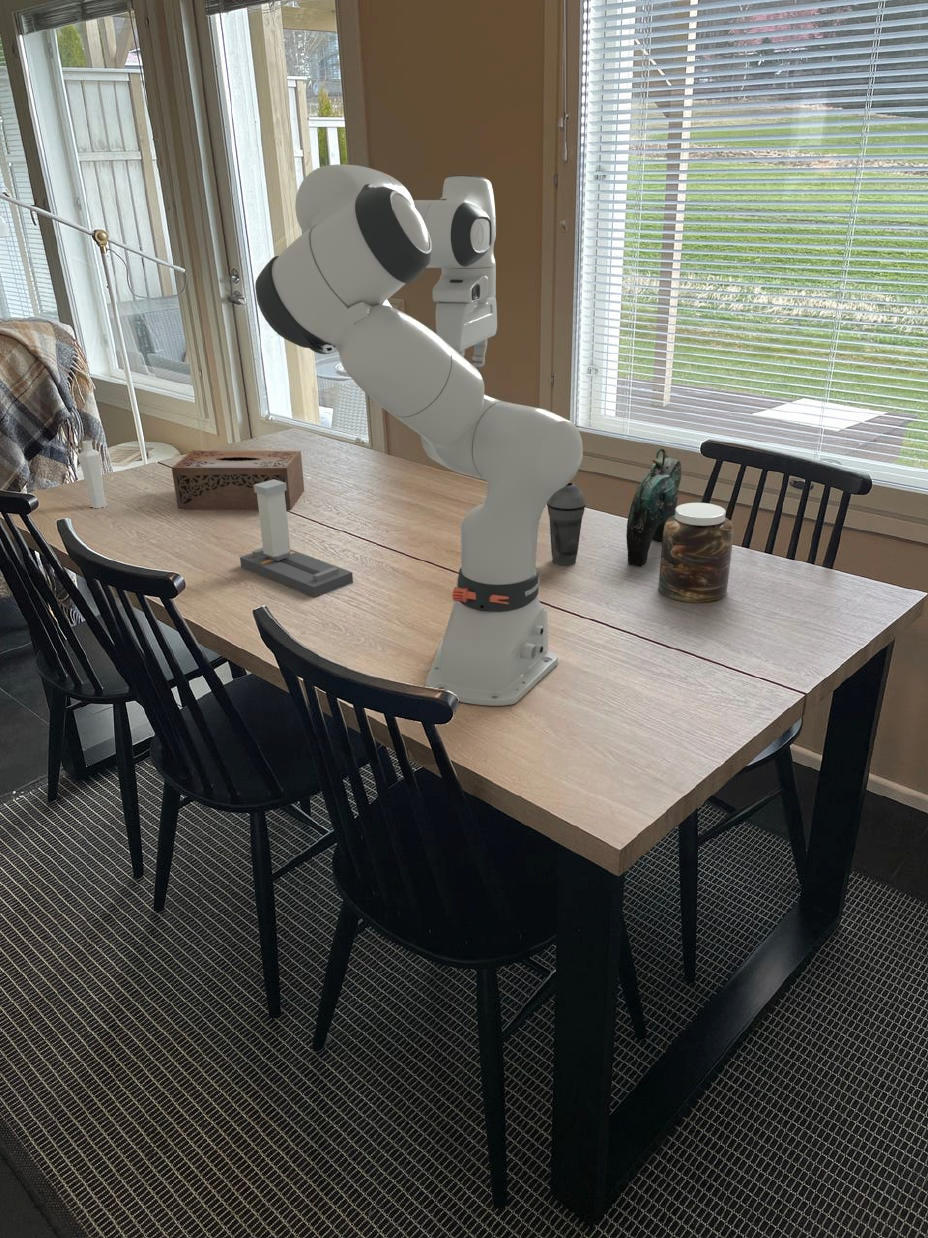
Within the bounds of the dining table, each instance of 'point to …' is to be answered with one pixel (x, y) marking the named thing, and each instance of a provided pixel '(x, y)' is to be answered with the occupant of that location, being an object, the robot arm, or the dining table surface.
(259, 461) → the tissue box cover
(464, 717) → the dining table surface
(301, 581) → the fader console
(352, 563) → the dining table surface
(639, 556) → the dark green arched sculpture
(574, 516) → the beverage cup
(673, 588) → the jar
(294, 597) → the dining table surface
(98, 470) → the perfume bottle
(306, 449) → the dining table surface
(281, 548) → the fader tab
